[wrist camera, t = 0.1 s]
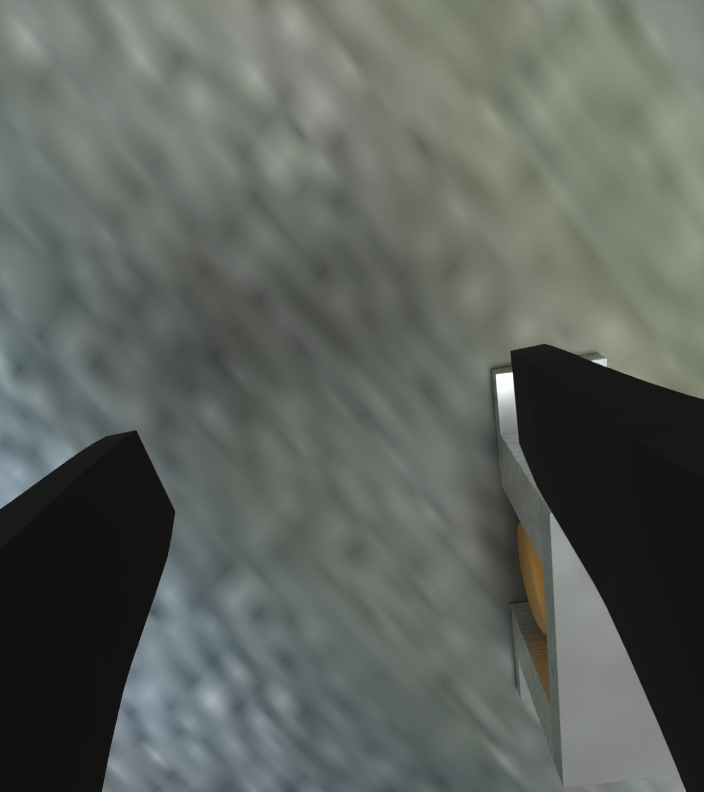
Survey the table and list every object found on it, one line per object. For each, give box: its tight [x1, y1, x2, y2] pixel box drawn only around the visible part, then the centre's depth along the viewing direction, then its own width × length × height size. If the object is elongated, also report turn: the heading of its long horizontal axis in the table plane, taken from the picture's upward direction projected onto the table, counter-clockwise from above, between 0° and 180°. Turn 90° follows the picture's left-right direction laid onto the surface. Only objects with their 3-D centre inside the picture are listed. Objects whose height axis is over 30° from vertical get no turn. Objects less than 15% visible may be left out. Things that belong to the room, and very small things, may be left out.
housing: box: [492, 353, 680, 788], centre depth 20 cm, size 4×16×6 cm, turn 9°
